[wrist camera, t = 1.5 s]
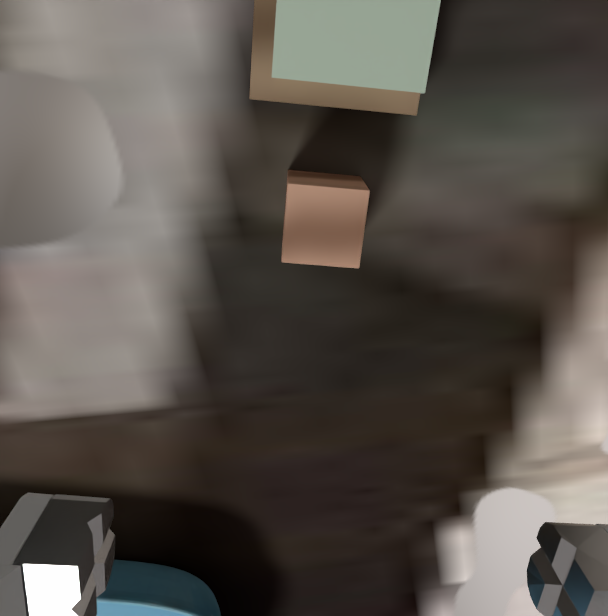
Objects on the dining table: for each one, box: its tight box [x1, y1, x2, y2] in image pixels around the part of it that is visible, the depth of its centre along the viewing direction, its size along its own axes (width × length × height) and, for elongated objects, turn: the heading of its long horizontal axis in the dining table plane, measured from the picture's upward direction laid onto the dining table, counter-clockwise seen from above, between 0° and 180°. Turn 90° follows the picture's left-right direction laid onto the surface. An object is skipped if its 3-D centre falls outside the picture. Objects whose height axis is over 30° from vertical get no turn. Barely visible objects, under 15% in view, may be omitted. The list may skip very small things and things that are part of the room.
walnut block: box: [250, 0, 420, 115], centre depth 32 cm, size 10×10×4 cm
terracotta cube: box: [282, 170, 370, 268], centre depth 36 cm, size 5×5×5 cm
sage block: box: [272, 0, 441, 93], centre depth 28 cm, size 8×8×4 cm
